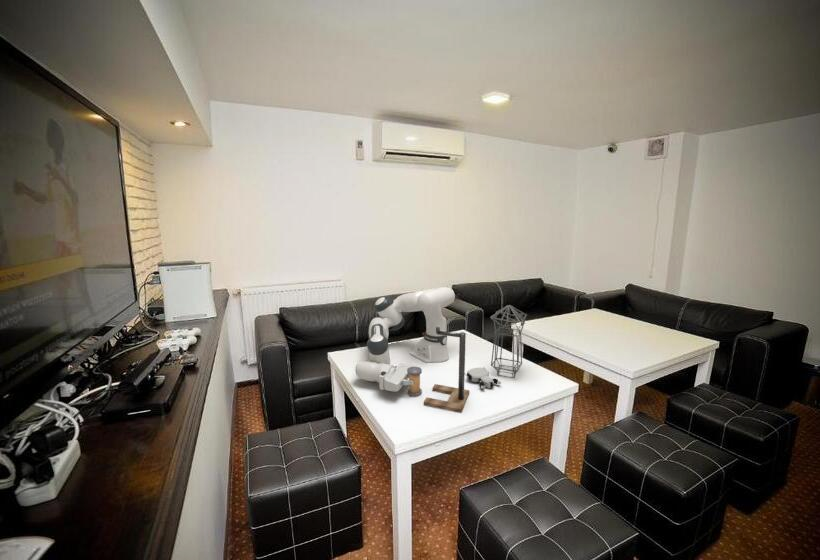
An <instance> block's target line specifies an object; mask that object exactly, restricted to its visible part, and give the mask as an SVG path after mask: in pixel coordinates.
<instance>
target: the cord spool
mask: <svg viewBox="0 0 820 560" xmlns="http://www.w3.org/2000/svg"><path fill="white" fill-rule="evenodd" d="M422 372H423V370H422V368H421V367H419V366H414V367H409V368H408V369H407V373H408V374H409V379H408V380H414V384H413V385H408V389H407V391H406V392H407V395H408V396H410V397H419V396H421V395H422V393H423V391H422V388H421V374H422Z"/></svg>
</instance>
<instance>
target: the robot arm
mask: <svg viewBox="0 0 820 560" xmlns="http://www.w3.org/2000/svg"><path fill="white" fill-rule="evenodd" d="M455 298H456V295H455V292H454V290H453V289H452V288H451V287H449V286H439V287H434V288H429V289H425V290H420V291H414V292H413V291H412V292H408V293H404V294H400V295H399V296H397V297H396V298H394V297H392V296H381V297H379V298H378V299H377V300H376V301H375V302H374V305H373V307H374V310H375V312H376V313H377V314H378V316H379V317H378V316H377V317H373V319H371V320H370V323H369V326H368V340H367V342H366V347H367V350H368V355H369V356H368V357H369V358H367V359H366V360H359V361H357V363H356V366H355V374H356V376H357V378H359V379H361V380H363V381H368V382H372V383H373V382H376V383H378V384H379V387H378V388H379V390H382V391H383V390H385V391H388V392H389V391H390V392H399V391H400V390H401V388H402V387H403V386H409V385H413V384H414V380H409V374H408V373H407V369H408V368H409V367H415V366H414V365H413V364H408V363H399V364H398V365H395V366H394V365H393V364H391V357H390V350H389V341H388V339H389V335H390V334H389V331H398V330H400V329H401V328H402V327H403V326H404V325H405V322H406V321H405V318H404V316H403V315H402V312H404V313H412V312H423V314H424V317H425V322H426V323H425V326H426V330H425V331H424V332H422V336H423V337H422V338H421V339H419V340H418V341H416V342H415V345H414V347H413V349H412V350H410V353H409V355H410V356H413V357H414V358H417V359H418V360H420V361H421V362H422V361H423V362H425V363H440V362H441V363H442V362H446V361H448V360H449V357H450V356H449V351H448V344H447V342H448V336H445V335H438V334H436V327H440V331H444V332H447V325H448V324H447V318H446V317H445V316H444V315H443V313H442V308H446V307H449V306H450V305H451V304H452V303H453V302H454V301H455Z"/></svg>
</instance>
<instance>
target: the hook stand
mask: <svg viewBox="0 0 820 560" xmlns="http://www.w3.org/2000/svg"><path fill="white" fill-rule="evenodd" d="M436 334H438V335H445V336H447V337H454V338H459V345H458V346H459V347H458V349H459V351H458V353H459V355H458V357H459V358H458V383H457V385H458V387H457V388H458V399H459V400H463V399H464V389H465V376H466V375H465V374H466V367H465V366H466V336H467V334H466V332H459V333H458V332H451V331H446V332H444V331H440V327H436Z"/></svg>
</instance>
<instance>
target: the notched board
mask: <svg viewBox="0 0 820 560" xmlns="http://www.w3.org/2000/svg"><path fill="white" fill-rule="evenodd" d="M431 389H432V392H435V391H436V393H442V394H447V395H450V396H449V398H448V399H447V400H441V399H437V398H432V397H428V396H426V398H425V399H424V400H423V405H424V406H425V407H432V408H435V409H441V410H446V411H451V412H456V413H460V414H462V413H463V410H464V408H465V405H466V403H467V401H468V398H469V396H470V390H469V389H465V388H464V399H463V400H459V399H458V387H453V386H447V385H443V384H437V383H434V384H433V386H432V388H431Z"/></svg>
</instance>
